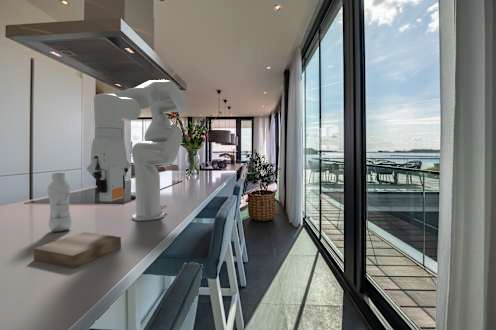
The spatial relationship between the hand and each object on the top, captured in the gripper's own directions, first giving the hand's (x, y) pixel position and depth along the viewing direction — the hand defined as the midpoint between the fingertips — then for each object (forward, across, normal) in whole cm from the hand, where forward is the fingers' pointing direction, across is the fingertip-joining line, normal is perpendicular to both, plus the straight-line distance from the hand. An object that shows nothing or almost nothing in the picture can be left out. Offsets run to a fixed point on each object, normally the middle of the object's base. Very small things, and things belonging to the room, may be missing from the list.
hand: (111, 189), depth 82 cm
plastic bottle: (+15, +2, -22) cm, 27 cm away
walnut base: (+15, +14, +3) cm, 21 cm away
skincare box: (+3, 0, 0) cm, 3 cm away
